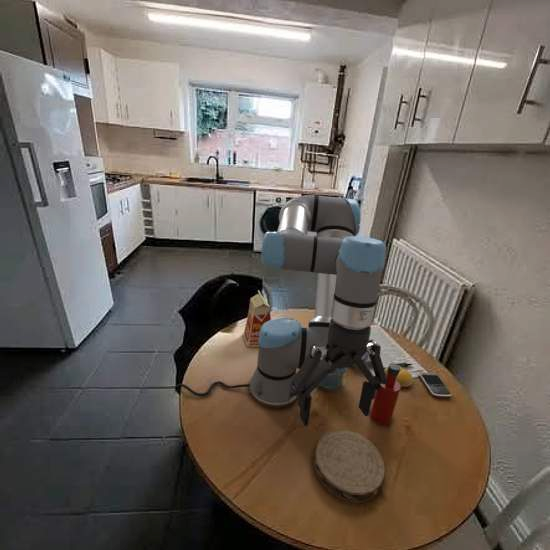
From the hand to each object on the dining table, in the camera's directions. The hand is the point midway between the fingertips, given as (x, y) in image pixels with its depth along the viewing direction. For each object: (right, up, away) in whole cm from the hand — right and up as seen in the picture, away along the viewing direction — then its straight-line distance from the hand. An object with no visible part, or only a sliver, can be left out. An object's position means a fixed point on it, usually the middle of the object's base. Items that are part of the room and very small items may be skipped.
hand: (334, 416), depth 63 cm
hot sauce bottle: (+18, -12, +25) cm, 33 cm away
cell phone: (+40, -8, +39) cm, 57 cm away
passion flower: (+18, -2, +49) cm, 52 cm away
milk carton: (-19, +4, +56) cm, 59 cm away
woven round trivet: (+5, -17, +10) cm, 21 cm away
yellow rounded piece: (+29, -6, +41) cm, 51 cm away
